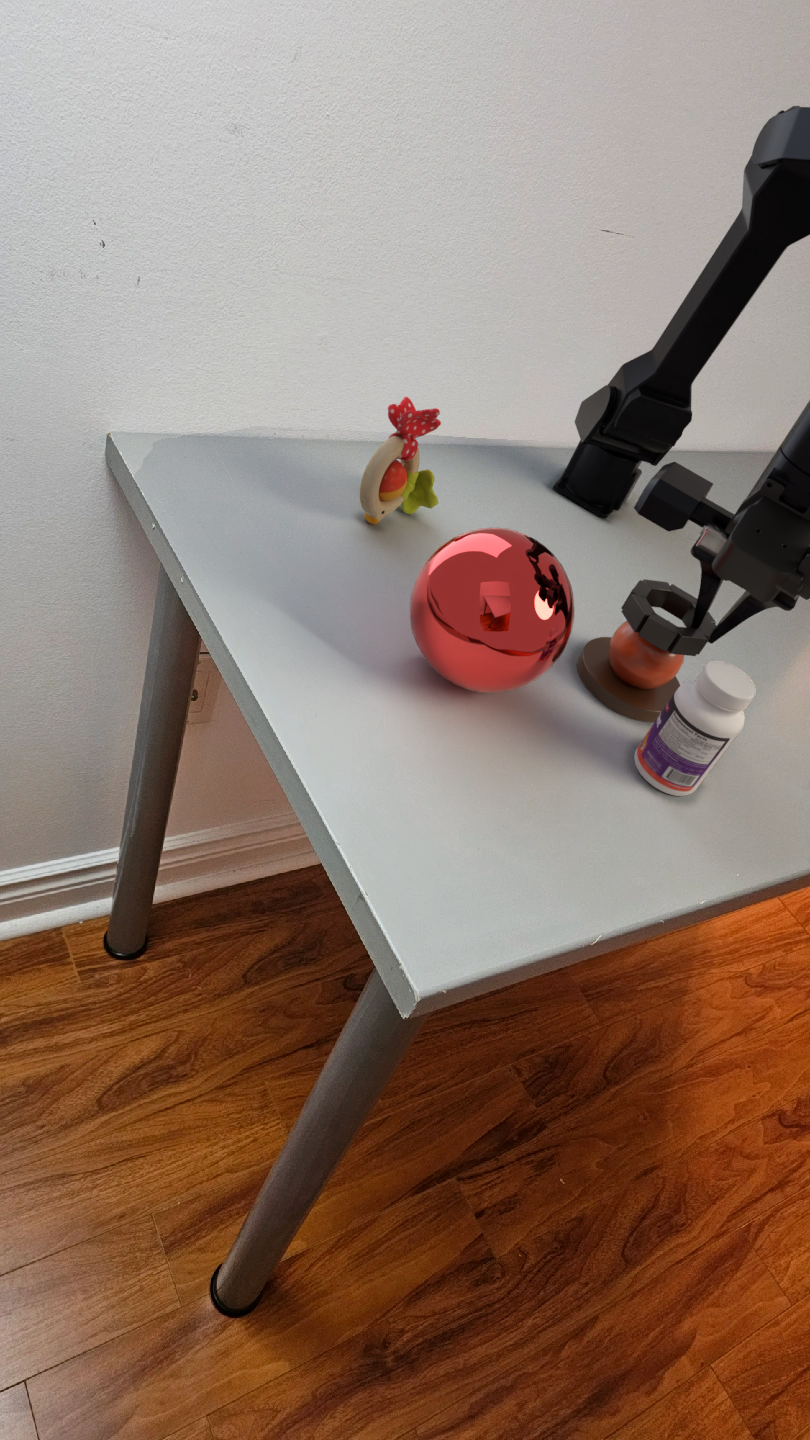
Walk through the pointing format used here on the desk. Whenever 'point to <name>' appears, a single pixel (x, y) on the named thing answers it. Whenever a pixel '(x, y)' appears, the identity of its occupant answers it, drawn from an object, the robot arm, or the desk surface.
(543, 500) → the desk surface
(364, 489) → the bird rattle
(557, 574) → the ball
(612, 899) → the desk surface
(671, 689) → the ball stand
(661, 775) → the pill bottle
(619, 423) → the robot arm
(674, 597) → the black ring
